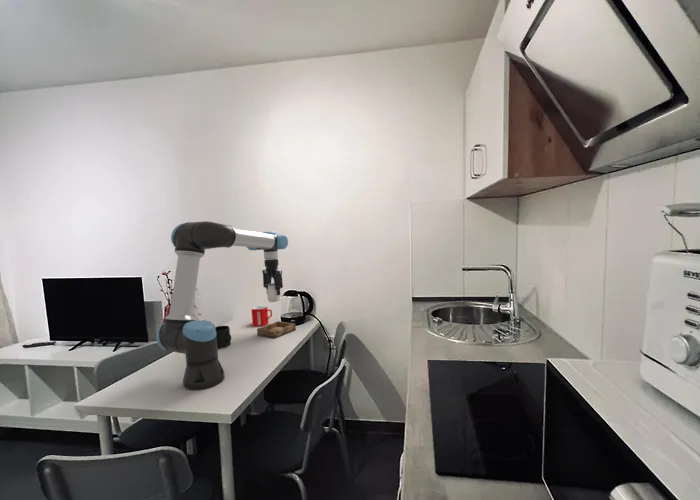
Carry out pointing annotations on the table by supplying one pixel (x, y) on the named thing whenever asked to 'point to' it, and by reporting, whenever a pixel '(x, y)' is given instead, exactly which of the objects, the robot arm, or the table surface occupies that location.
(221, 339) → the mug
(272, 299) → the shaker
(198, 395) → the table surface
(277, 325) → the tray
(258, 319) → the mug
